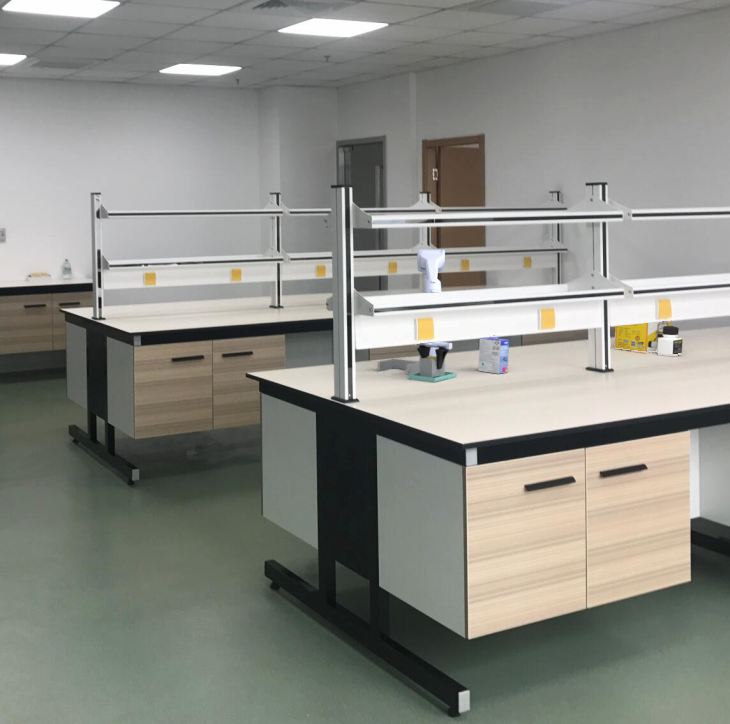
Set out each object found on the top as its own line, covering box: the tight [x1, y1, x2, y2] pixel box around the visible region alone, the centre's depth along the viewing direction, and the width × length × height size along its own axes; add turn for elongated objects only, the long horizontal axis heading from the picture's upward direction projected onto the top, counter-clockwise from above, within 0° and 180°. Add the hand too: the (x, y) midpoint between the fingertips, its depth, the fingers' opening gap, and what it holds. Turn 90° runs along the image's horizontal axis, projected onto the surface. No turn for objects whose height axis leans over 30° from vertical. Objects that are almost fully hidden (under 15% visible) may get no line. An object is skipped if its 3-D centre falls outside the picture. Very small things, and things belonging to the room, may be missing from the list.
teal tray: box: [408, 371, 457, 383], centre depth 338 cm, size 14×11×2 cm
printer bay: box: [377, 358, 420, 376], centre depth 352 cm, size 10×14×4 cm
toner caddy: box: [420, 356, 446, 377], centre depth 338 cm, size 8×5×7 cm, turn 143°
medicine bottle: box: [656, 325, 683, 354], centre depth 393 cm, size 7×7×12 cm
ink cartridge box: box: [477, 336, 510, 375], centre depth 351 cm, size 10×6×14 cm, turn 46°
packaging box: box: [613, 320, 672, 352], centre depth 408 cm, size 16×16×25 cm
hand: (432, 368), depth 338 cm, fingers open, 5 cm apart
